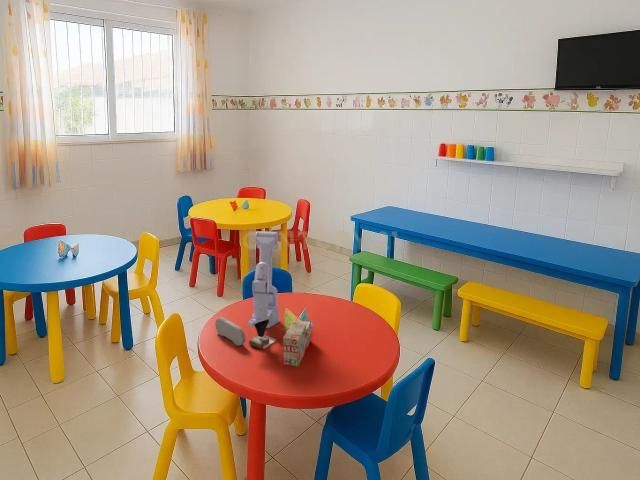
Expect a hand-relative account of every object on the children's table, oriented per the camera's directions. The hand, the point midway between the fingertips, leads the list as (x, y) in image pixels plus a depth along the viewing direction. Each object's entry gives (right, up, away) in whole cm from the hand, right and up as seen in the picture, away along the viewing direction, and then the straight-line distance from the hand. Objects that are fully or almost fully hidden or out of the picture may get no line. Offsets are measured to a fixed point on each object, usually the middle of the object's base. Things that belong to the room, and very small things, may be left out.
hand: (260, 335), depth 197 cm
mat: (+1, -3, +2) cm, 4 cm away
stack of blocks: (+16, -6, -5) cm, 18 cm away
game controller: (-14, -3, +4) cm, 15 cm away
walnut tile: (-2, -3, -3) cm, 5 cm away
